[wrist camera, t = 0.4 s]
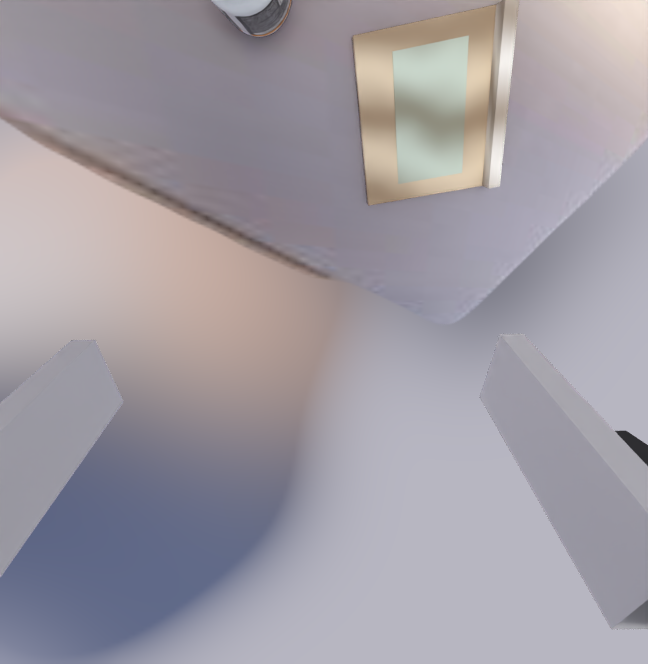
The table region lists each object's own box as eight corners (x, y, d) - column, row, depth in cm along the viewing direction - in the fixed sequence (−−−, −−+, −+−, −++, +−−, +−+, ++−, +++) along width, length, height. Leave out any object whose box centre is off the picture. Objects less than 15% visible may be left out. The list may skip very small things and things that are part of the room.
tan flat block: (352, 38, 27) (354, 31, 25) (505, 5, 26) (521, -6, 24) (367, 203, 34) (370, 208, 32) (489, 182, 33) (501, 186, 31)
